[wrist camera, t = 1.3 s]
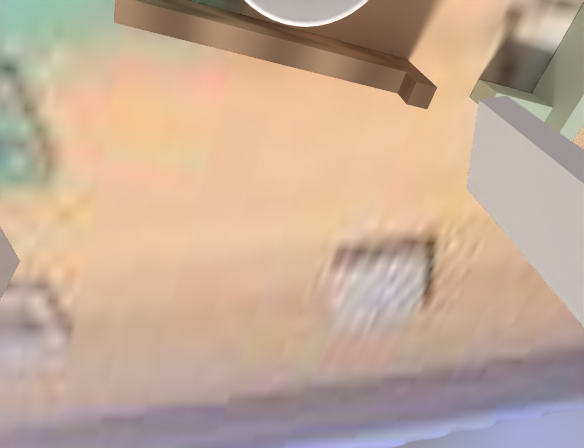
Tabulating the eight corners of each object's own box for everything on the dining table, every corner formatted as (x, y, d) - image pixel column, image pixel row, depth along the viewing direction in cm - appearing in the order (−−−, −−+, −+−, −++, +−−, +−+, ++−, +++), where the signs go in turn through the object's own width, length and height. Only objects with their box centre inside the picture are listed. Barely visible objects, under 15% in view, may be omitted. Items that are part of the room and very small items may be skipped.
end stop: (469, 97, 38) (499, 122, 34) (582, -129, 30) (640, -131, 26) (536, 114, 39) (573, 140, 35) (661, -96, 31) (726, -93, 27)
